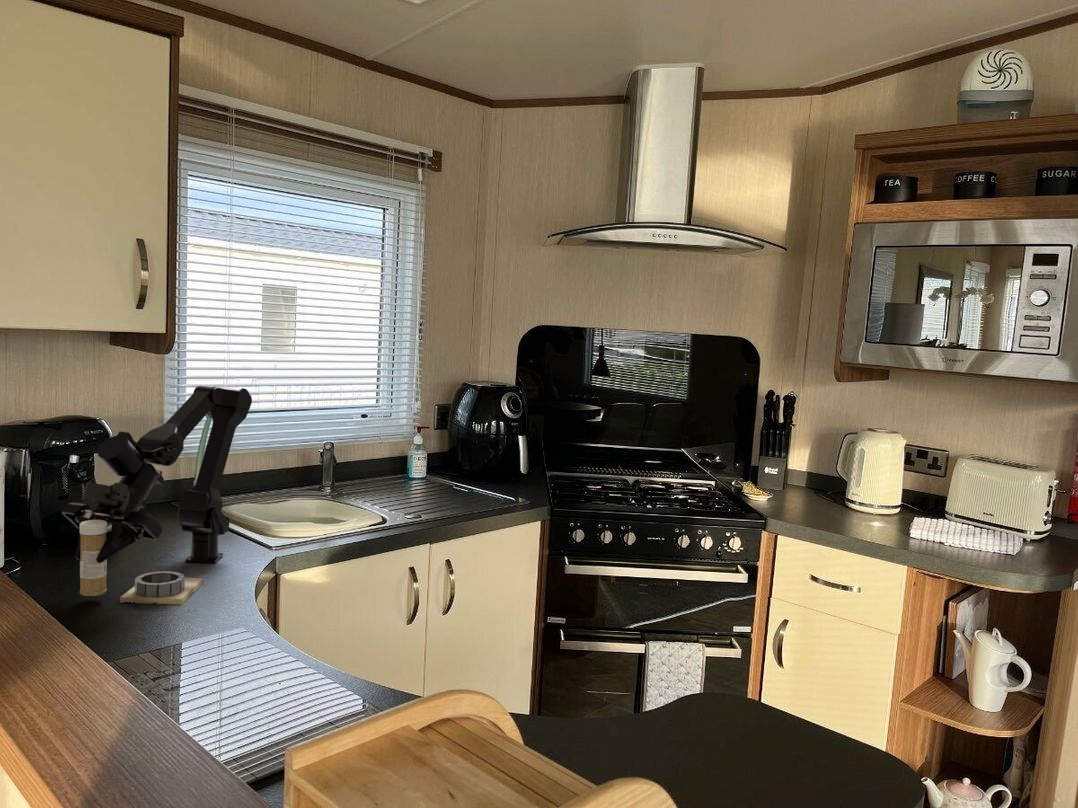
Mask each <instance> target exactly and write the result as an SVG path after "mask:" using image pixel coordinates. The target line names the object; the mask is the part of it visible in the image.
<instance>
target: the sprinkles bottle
mask: <svg viewBox="0 0 1078 808" xmlns="http://www.w3.org/2000/svg"><path fill="white" fill-rule="evenodd" d="M107 534H108V525H107V522H106V521H104V520H88V521H84V522H81V523H80V529H79V537H80V536H81V552H80V553H81V556H80V560H79V578H80V588H79V589H80V590H79V594H80V595H81V596H85V597H95V596H100V595H103V594H106V592H107V591H108V588H107V573H108V571H107V569H108V568H107V567H108V565H107V563H108V562H107V561H108V559H106V560H105V561H103V562H102V563H98V562H97V561H96V559H97V557H98V554H99V552H100V551H101V549H102V547H103V546H104V544H105V542H106V541H107Z"/></svg>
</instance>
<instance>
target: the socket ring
mask: <svg viewBox="0 0 1078 808" xmlns="http://www.w3.org/2000/svg"><path fill="white" fill-rule="evenodd" d="M185 578H186V577H185V575H184V574H183V573H181V572H176V571H167V570H166V571H165V570H163V571H153V572H146V573H143V574H140V575H138V576H136V577H135V578H134V586H135V593H136V595H138V596H141V597H146V598H162V597H170V596H174V595H177V594H180V593H182V592H183V591H184V589H185Z"/></svg>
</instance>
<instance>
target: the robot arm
mask: <svg viewBox="0 0 1078 808" xmlns="http://www.w3.org/2000/svg"><path fill="white" fill-rule="evenodd" d="M252 405H253V398H252V395H251V394H250V391H249V390H248V389H246V388H244V387H236V386H235V387H234V386H233V387H231V386H225V385H224V386H221V385H220V386H215V385H206V384H205V385H203V384H201V385H197V386H196V387H195V388H194V389H193V392H192V394H191V395H190V396H189V397H188V399H186V400H185V402H184V403H182V405H181V406H180V407H179V408H177V410H175V411H176V412H174V413H173V415H171V416H170V418H169V419H167V421H166V422H165V423H164V424H162V425H161V426H158V427H155V428H152V429H150V430H149V431H148V432H146V433H144V435H142V436H141V437H139V439H138V441H135V439H134V437H133V436H132V434H131V433H130V432H128V431H121V430H120V431H119V432H118V433H117V435H114V436H111V437H110V438H107V439H106V440H104V441H102V442H101V443H100V444H99V446H98V448H97V456H98V457H99V458H100V459H101V461H103V463H104V464H105V465H106V466H107V467H108V469H110V471H112V472H113V474H115V475H116V476H118V477H121V478H120V479H119V481H118V482H114V483H113V484H111V485H107V484H101V483H95V482H87V483H86V486H85V489H84V492H83V495H82V498H81V499H82V500H83V501H88V502H93V503H94V504H93V506H94V507H95V508H96V509H97V510H99V512H96V511H94V510H93V509H92V508H91V507H90V506H89V505H88V504H87V503H82V502H81V503H80V502H74V501H73V502H69V503H67V504H66V505H65V507H64V508H63V509H62V511H61V514H62V516H64V517H65V518H66V520H68V521H69V522H70V523H71V524H72V525H74V527H75V528H77V529H79V530H80V523H81V522H84V521H88V520H104V521H106V522H107V526H111V530H110V534H109V536H108V537H107V538H106V542H105V544H104V546H103V547H102V549H101V551H100V552H99V554H98V557H97V559H96V561H97V562H98V563H102V562H103V561H105V560H106V559H107V560H108V559H109V558H110V557H112V556H113V555H115V554H117V553H118V552H119V551H122V550H123V549H124V548H127V547H128V546H131V544H134V543H136V542H139V541H141V538H140V535H141V534H142V536H143V538H144V539H145V540H151V541H156V542H157V541H158V539H159V537H160V536H161V535H162V531H163V527H162V525H161V523H160V522H159V521H158V520H157V519H156V518H155V517H154V516H153V515H152V513H150V512H146V511H145V512H143V511H139V509H145V508H146V507H147V505H148V503H147V502H146V501H145V499H146V498H147V496H149V494H150V491H151V490H152V488H153V486H154V485H155V484H157V485H162V486H163V485H165V478H164V476H163V470H158V469H157V468H156V467H155V466H154V465H156V466H162V467H171V466H172V465H174V464H175V463H176V461H177V460H178V458H179V457H180V455H181V454H182V452H184V443H185V440H186V439H187V437H188V436H189V435H190V434H191V432H193V431H194V429H195V428H196V427H197V426H198V424H200V422H201V421H202V420H203V419H204V418H205V417H206V415H207V414H210V416H211V420H212V425H211V428H210V432H209V435H208V438H207V443H206V446H205V450H204V453H203V457H202V460H201V464H200V467H199V471H198V474H197V478H196V482H195V483H194V485H193V486H192V487H191V488H190V489H189V490H188V489H184V490H183V491H182V494H181V498H180V501H179V504H178V506H177V509H178V512H177V517H178V519H179V524H180V528H181V531H182V532H188V533H190V554H189V556H187V557H186V558H185V559H184V562H187V563H207V564H209V563H210V564H211V563H212V564H214V563H217V562H218V561H219V560H220V559H221V558H222V557H223V556H224V553H223V552H219V543H220V541H219V540H220V539H219V538H220V537H219V536H221V535H225V534H226V533H228V531H229V528H230V524H231V523H230V520H228V518H227V517H226V516H225V514H223V512H222V510H223V500H222V497H221V493H220V487H221V483H222V479H223V475H224V472H225V469H226V465H227V461H228V457H229V454H230V450H231V448H232V447H231V446H232V443H233V439H234V435H235V432H236V429H237V428H238V426H239V425H240V424H241V423H242V422H244V420H246V418H247V417H248V414H249V411H250V409H251V406H252ZM80 552H81V536H80V535H79V537H78V541H77V546H76V551H75V557H74V558H76V560H77V561H78V560H79V561H80V556H81V553H80Z"/></svg>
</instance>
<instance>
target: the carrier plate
mask: <svg viewBox="0 0 1078 808" xmlns="http://www.w3.org/2000/svg"><path fill="white" fill-rule="evenodd" d="M203 584H204V578H202V577H201V578H200V577H199V578H198V577H185V589H184V591H183V592H182V593H180V594H177V595H174V596H170V597H162V598H146V597H141V596H138V595H136V593H135V585H133V587H131V588H130V589H129V590H127V591H126V592H125V593H124V594H123V595H121V596H120V600H119V602H120V603H124V602H131V603H130V604H153V603H157V604H158V605H161V604H162V605H182V604H183V603H185V601H186V600H187V599H189V598H190V597H191V596H192V595H193V594H194V593H195V592H196V591H197V590H198V589H199V588H200V587H201V586H202V585H203ZM189 596H190V597H189ZM133 602H135V603H133ZM157 604H156V605H157Z"/></svg>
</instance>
